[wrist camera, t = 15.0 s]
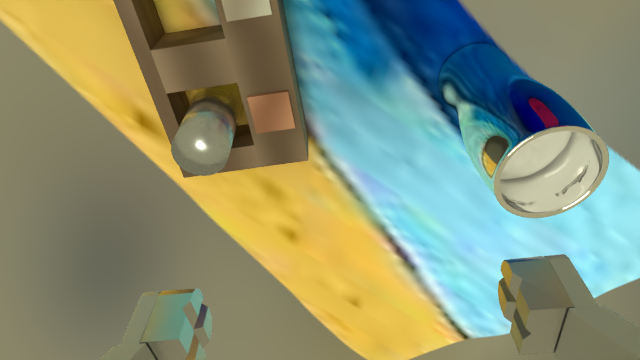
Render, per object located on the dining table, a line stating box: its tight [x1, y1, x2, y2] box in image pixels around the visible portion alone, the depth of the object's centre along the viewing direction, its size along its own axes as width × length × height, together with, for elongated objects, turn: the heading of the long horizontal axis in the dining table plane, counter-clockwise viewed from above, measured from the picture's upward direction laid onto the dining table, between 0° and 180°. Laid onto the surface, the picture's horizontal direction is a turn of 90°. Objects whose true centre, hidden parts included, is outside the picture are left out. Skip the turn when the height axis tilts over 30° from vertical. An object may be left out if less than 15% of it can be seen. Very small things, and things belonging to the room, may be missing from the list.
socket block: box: [113, 0, 308, 178], centre depth 35 cm, size 11×19×4 cm, turn 9°
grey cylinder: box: [171, 83, 243, 176], centre depth 35 cm, size 4×4×9 cm
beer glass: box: [438, 43, 609, 218], centre depth 32 cm, size 7×7×15 cm
